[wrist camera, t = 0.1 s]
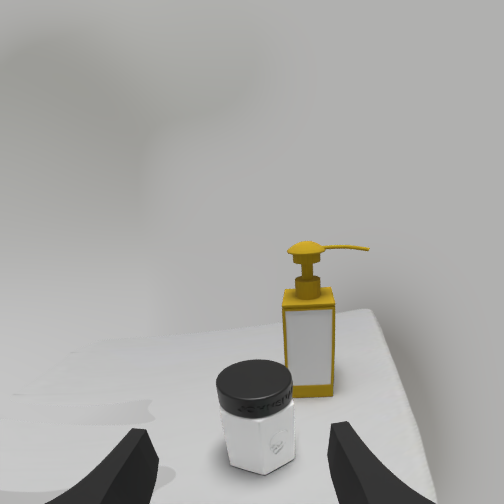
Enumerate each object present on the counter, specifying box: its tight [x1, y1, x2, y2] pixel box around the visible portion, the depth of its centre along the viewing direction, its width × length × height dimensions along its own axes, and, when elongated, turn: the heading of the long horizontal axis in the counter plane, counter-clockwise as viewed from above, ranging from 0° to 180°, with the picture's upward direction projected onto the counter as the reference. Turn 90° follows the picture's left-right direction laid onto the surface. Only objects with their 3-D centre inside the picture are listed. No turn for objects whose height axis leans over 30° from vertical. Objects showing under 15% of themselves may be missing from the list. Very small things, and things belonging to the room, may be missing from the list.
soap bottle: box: [282, 241, 370, 398], centre depth 45 cm, size 7×13×24 cm, turn 81°
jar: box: [216, 360, 295, 475], centre depth 33 cm, size 9×8×12 cm
